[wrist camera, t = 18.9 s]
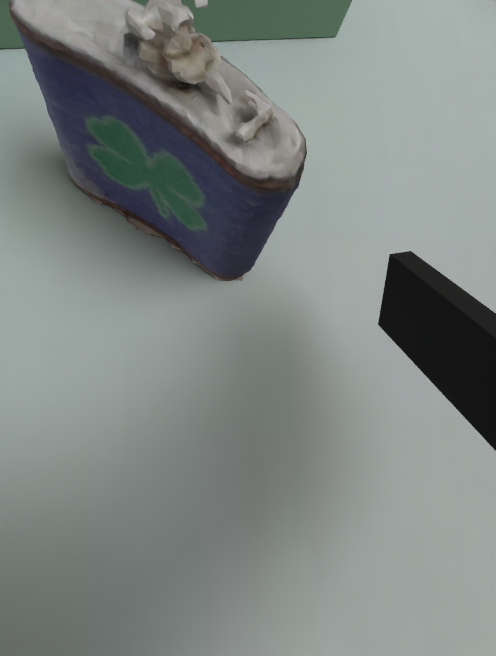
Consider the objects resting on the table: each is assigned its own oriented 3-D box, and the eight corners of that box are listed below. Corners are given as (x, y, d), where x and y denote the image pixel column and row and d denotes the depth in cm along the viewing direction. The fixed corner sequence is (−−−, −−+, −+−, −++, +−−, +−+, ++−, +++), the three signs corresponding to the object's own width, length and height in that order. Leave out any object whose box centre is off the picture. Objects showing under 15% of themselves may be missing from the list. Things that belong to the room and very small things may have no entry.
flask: (58, 179, 20) (-48, -78, 10) (98, 132, 21) (39, -151, 11) (234, 295, 21) (309, 165, 10) (268, 245, 21) (368, 77, 11)
